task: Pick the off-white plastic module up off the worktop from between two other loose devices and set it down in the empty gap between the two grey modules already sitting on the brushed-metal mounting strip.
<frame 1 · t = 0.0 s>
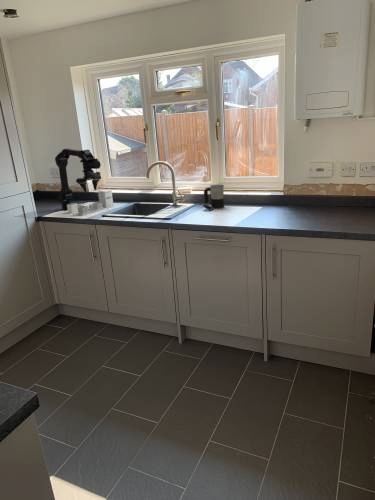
hand: (90, 191, 280), 15 cm above the worktop, tool pointing down, fingers open, 9 cm apart
supplement box: (106, 207, 297), on the worktop
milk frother: (214, 208, 268), on the worktop
terminal block: (93, 209, 294), on the worktop
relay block: (80, 209, 298), on the worktop
rail: (91, 211, 284), on the worktop
module: (73, 212, 287), on the worktop
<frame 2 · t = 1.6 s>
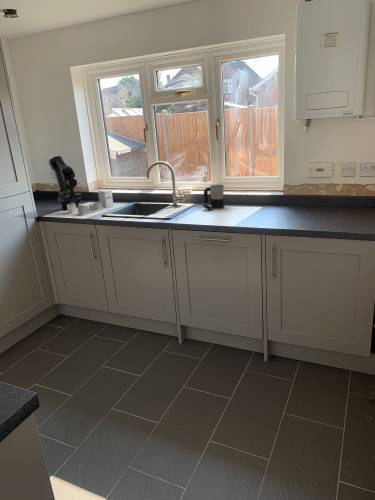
hand: (72, 207, 286), 4 cm above the worktop, tool pointing down, fingers open, 9 cm apart
nothing on the worktop moved.
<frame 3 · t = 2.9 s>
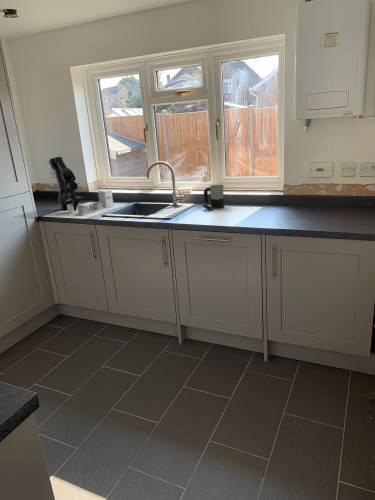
hand: (72, 210, 287), 1 cm above the worktop, tool pointing down, fingers closed on module, 4 cm apart
module: (73, 212, 287), on the worktop, touching gripper
everything else where it was.
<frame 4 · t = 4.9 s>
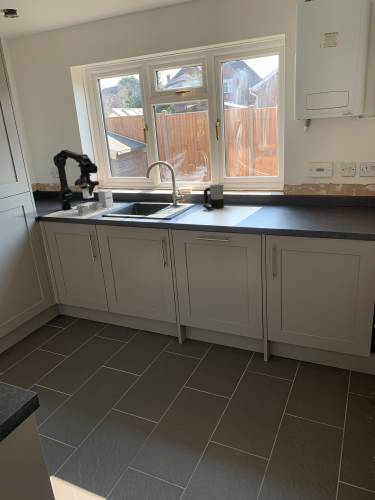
hand: (88, 195, 281), 12 cm above the worktop, tool pointing down, fingers closed on module, 4 cm apart
module: (88, 197, 281), point 10 cm above the worktop, touching gripper
everything else where it was.
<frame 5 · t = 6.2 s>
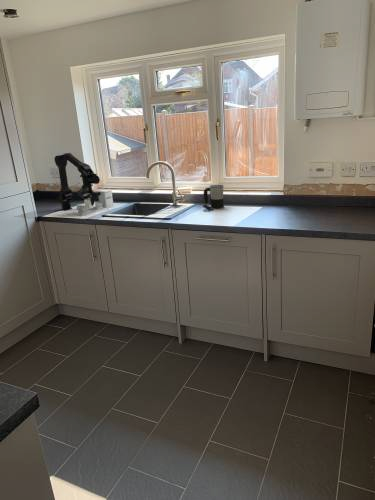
hand: (90, 205, 283), 5 cm above the worktop, tool pointing down, fingers closed on module, 4 cm apart
module: (90, 207, 283), point 3 cm above the worktop, touching gripper
everything else where it was.
when the fingers open (4 cm above the worktop, at t = 7.0 s): module drops 2 cm, resting on rail.
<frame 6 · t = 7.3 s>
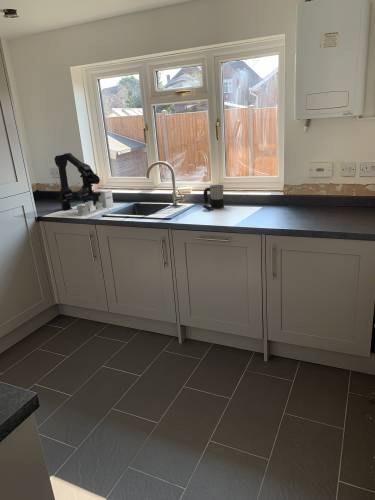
hand: (90, 205, 283), 4 cm above the worktop, tool pointing down, fingers open, 8 cm apart
module: (90, 210, 284), point 1 cm above the worktop, touching rail
everything else where it was.
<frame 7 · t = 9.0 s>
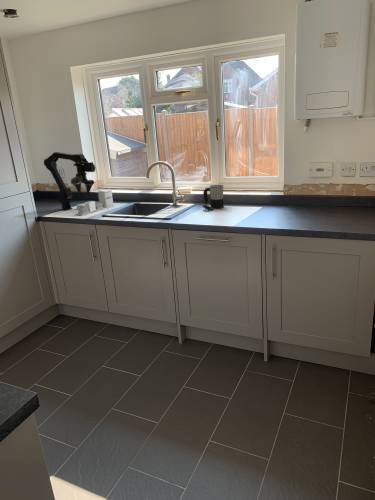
hand: (83, 193, 291), 12 cm above the worktop, tool pointing down, fingers open, 9 cm apart
nothing on the worktop moved.
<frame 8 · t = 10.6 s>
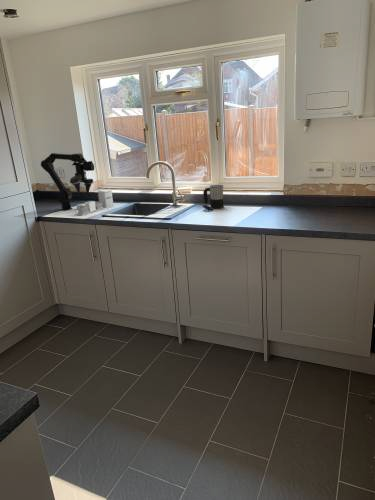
hand: (83, 192, 293), 12 cm above the worktop, tool pointing down, fingers open, 9 cm apart
at the end: module 0.1 cm off-centre on the rail, point 1.2 cm above the rail's base; module tilted 0°; the gripper is holding nothing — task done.
